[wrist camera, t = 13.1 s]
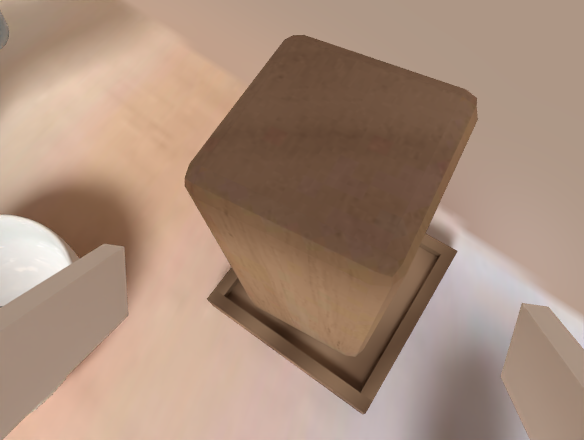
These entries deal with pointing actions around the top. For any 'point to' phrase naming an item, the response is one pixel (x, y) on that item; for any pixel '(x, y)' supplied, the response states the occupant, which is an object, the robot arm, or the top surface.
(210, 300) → the tray
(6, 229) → the cereal bowl
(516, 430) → the top surface
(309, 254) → the block
